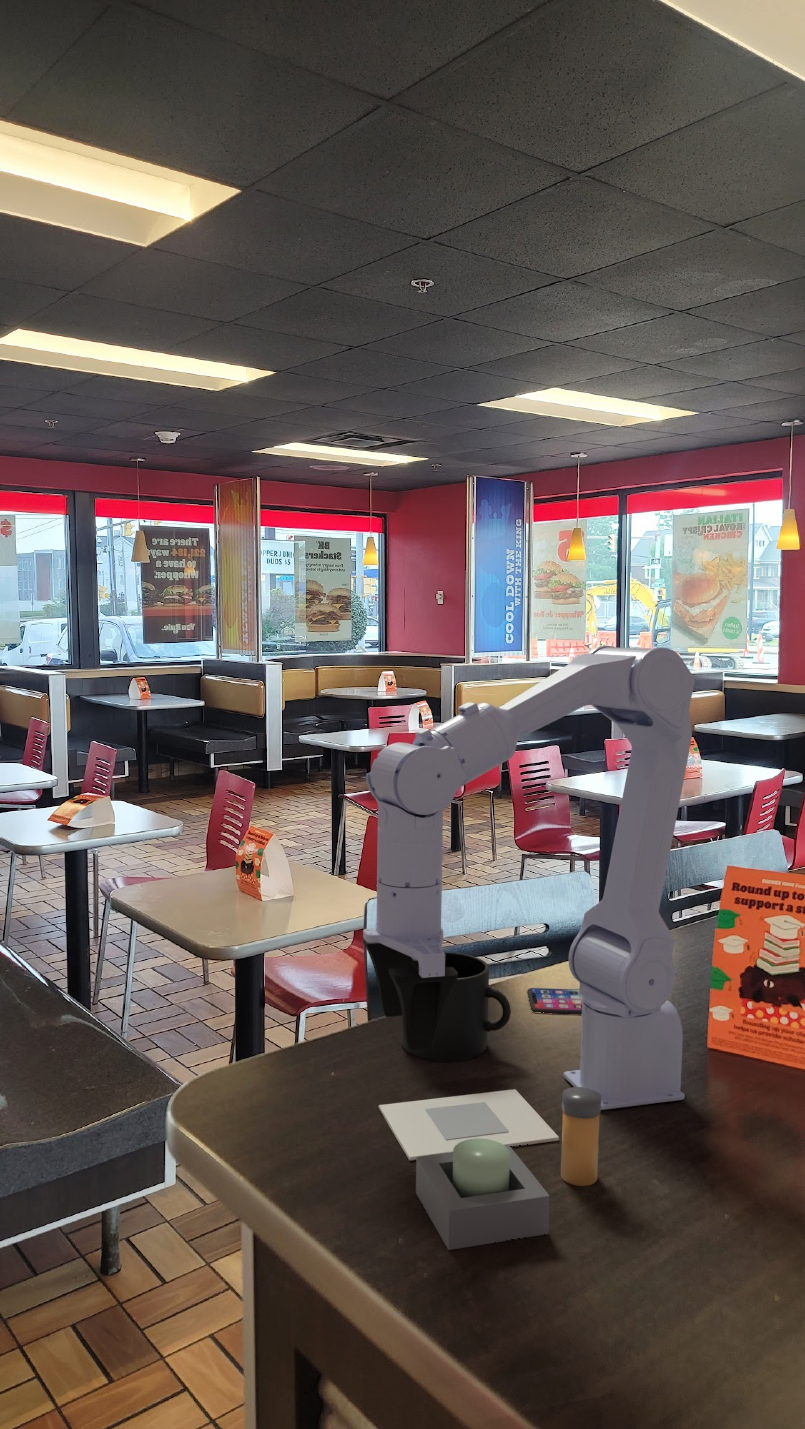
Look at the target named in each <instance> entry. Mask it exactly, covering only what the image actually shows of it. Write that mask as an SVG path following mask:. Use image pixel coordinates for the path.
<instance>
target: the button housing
mask: <svg viewBox="0 0 805 1429" xmlns="http://www.w3.org/2000/svg"><path fill="white" fill-rule="evenodd" d="M504 1146H506V1147H507V1148H508V1150H509V1152H510V1172H509V1191H506V1192H499V1193H492V1194H485V1195H479V1196H472V1197H465V1198H461V1197H460V1196H459V1194H458V1193H457V1191H456V1190H455V1188H454V1187H453V1185H452V1182H453V1152H450V1153H443V1154H435V1155H428V1156H420V1157H417V1160H416V1168H415V1194H416V1195H417V1197H418V1199H419V1201H420V1202H421V1205H422V1204H423V1205H422V1207H423V1208H424V1209H425V1210H424V1211H426V1214H428V1217H429V1219H430V1220H431V1223H432V1224H433V1226H434V1227H435V1229H436V1231H437V1232H438V1234H439V1236H440V1238H441V1240H442V1242H443V1243H444V1245H445V1246H446V1248H447V1250H448V1251H452V1250H457V1249H463V1248H464V1249H465V1248H470V1247H476V1246H483V1245H488V1244H494V1243H495V1242H496V1243H500V1242H501V1243H502V1242H506V1241H507V1240H508V1241H512V1240H511V1239H514V1240H519V1239H518V1238H520V1239H525V1238H524V1237H526V1238H531V1237H537V1236H544V1234H545V1235H549V1231H550V1201H551V1200H550V1199H551V1198H550V1194H549V1193H548V1192H547V1191H546V1189H545V1188H544V1187H543V1186H542V1184H541V1182H539V1180H538V1179H537V1177H535V1175H534V1174H533V1173H532V1172H531V1171H530V1169H529V1168H528V1167H527V1166H526V1164H525V1163H524V1162H523V1161H522V1159H521V1158H520V1157H519V1155H518V1154H517V1153H516V1152H515V1151H514V1149H513V1147H510V1146H509V1145H504ZM508 1241H507V1242H508Z"/></svg>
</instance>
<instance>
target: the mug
mask: <svg viewBox="0 0 805 1429" xmlns="http://www.w3.org/2000/svg"><path fill="white" fill-rule="evenodd" d="M443 952H444V953H445V967H453V968H454V969H455V970H456V971H457V972H458V979H457V982H456V984H455V985H454V987H453V988H452V990H451V991H450V993H449V995H448V997H447V999H446V1001H445V1004H444V1007H443V1009H442V1012H441V1016H440V1019H439V1023H438V1027H437V1032H436V1035H435V1039H434V1042H433V1045H432V1048H425V1049H416V1050H409V1048H408V1047H407V1044H406V1040H405V1035H404V1028H403V1018H402V1017H401V1027H400V1028H401V1030H400V1034H401V1035H400V1036H401V1039H400V1041H401V1045H402V1047H403V1049H404V1050H405V1051H406V1052H408V1053H409V1054H411V1055H413V1056H415V1057H417V1058H420V1059H424V1060H429V1061H433V1062H445V1063H447V1062H450V1063H451V1062H461V1061H467V1060H471V1059H474V1058H477V1057H478V1056H480V1055H482V1054H483V1053H484V1052H485V1051H486V1049H487V1046H488V1032H492V1031H498V1030H500V1029H502V1028H503V1027H505V1026H506V1025H507V1024H508V1022H509V1020H510V1017H511V1014H512V1013H511V1012H512V1010H511V1009H512V1008H511V1005H510V1002H509V1000H508V999H507V996H505V995H504V994H503V992H501V991H500V990H498V989H495V988H493V987H490V986H489V983H490V967H489V964H488V963H487V962H486V961H485V960H483V959H481V958H479V957H476V956H474V955H470V954H465V953H460V952H449V951H448V952H447V951H443ZM491 998H492V999H494V1000H496V1001H498V1003H499V1004H500V1006H501V1010H502V1013H501V1017H500V1018H499V1019H498V1020H497V1021H494V1022H491V1021H489V999H491ZM484 1050H485V1051H484Z"/></svg>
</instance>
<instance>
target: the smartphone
mask: <svg viewBox="0 0 805 1429" xmlns="http://www.w3.org/2000/svg"><path fill="white" fill-rule="evenodd" d="M527 994H528V995H527ZM526 995H527V999H528V998H529V1000H528V1003H529V1002H530V1004H529V1007H531V1008H530V1010H532V1011H533V1012H541V1013H543V1012H544V1013H552V1014H551V1015H566V1014H567V1015H569V1014H582V1000H583V999H582V994H580V993H579V989H578V988H575V989H573V988H548V987H547V988H546V987H545V988H542V987H530V988H528V989H527V990H526ZM532 1011H531V1012H532ZM533 1012H532V1013H533Z"/></svg>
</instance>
